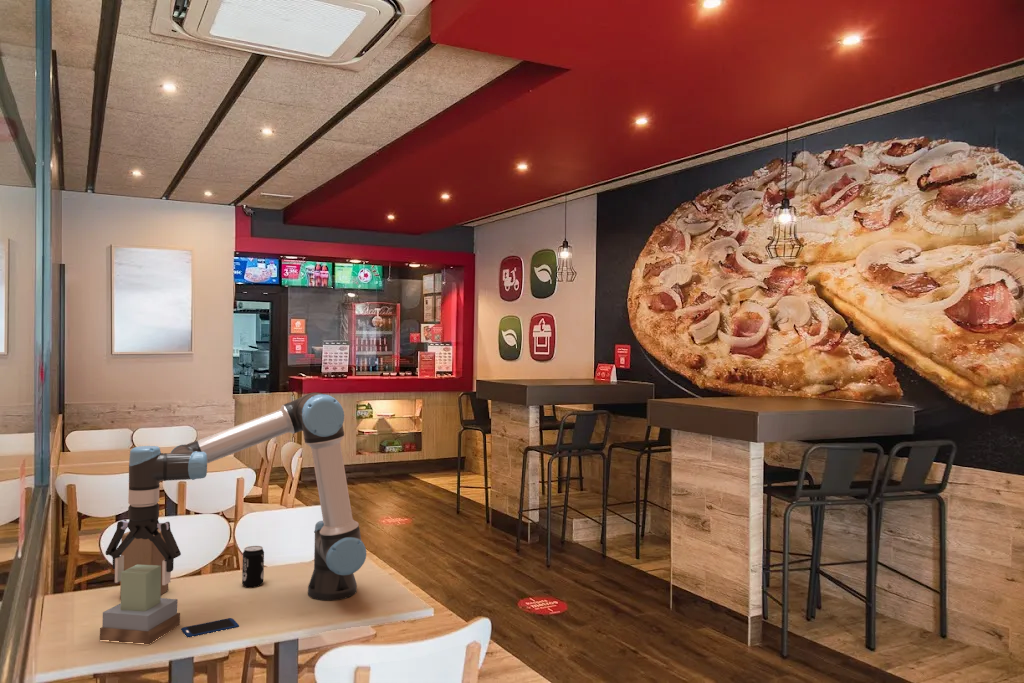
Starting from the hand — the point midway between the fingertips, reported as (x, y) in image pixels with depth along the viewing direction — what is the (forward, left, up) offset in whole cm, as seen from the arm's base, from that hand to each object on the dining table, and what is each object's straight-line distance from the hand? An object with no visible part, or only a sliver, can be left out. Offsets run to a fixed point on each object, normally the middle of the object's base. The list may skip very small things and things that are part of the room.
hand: (142, 582), depth 202 cm
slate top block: (0, 0, -10) cm, 10 cm away
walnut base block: (0, 0, -14) cm, 14 cm away
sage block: (0, 0, -6) cm, 6 cm away
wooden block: (+17, -28, -14) cm, 36 cm away
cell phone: (-16, -6, -14) cm, 22 cm away
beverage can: (-11, -43, -14) cm, 46 cm away
